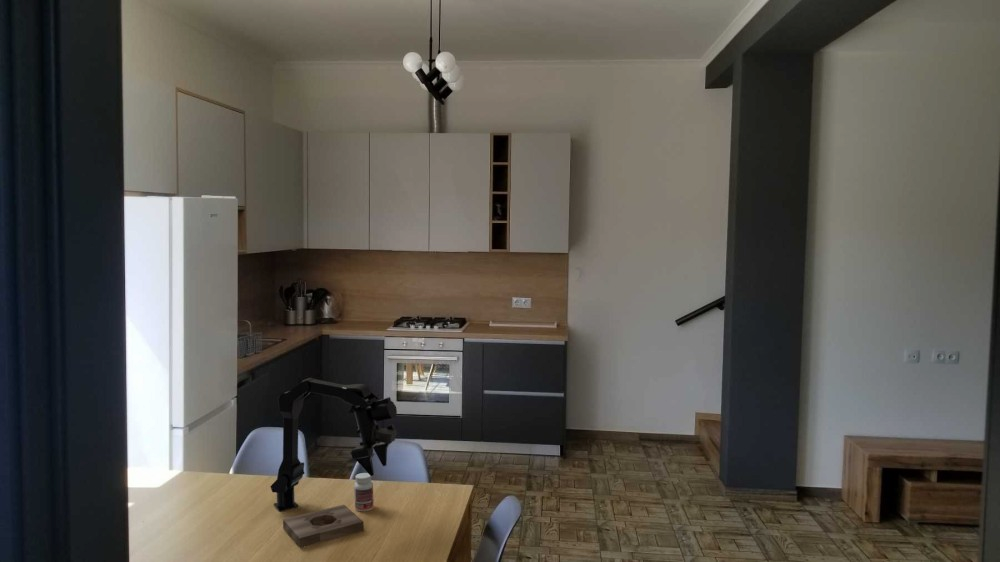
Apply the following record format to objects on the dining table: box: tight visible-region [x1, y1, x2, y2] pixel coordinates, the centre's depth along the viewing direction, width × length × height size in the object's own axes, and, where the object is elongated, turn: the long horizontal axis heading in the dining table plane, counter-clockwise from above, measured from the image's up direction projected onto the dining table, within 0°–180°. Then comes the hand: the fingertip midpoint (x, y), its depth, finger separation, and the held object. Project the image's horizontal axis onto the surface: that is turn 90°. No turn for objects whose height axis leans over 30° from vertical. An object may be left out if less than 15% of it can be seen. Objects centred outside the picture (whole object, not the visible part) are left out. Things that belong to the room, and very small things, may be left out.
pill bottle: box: [354, 472, 375, 513], centre depth 230 cm, size 6×6×11 cm
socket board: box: [282, 504, 365, 549], centre depth 214 cm, size 16×20×3 cm
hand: (378, 470), depth 222 cm, fingers open, 9 cm apart
